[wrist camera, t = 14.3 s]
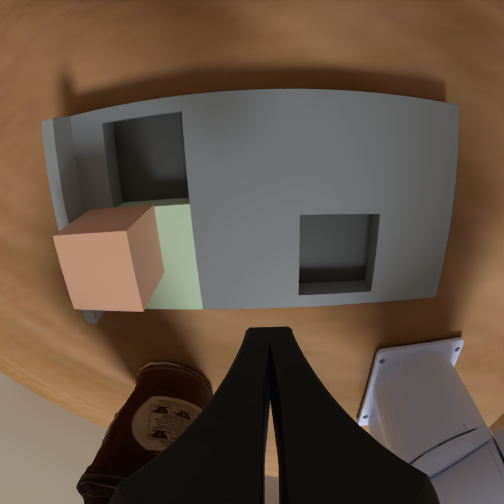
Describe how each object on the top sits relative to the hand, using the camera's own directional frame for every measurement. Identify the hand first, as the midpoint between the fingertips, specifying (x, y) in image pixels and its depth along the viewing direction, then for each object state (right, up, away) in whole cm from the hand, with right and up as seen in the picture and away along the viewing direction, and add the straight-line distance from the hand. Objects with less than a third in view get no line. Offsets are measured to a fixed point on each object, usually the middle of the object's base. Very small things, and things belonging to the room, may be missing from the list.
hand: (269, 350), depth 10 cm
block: (-8, +4, +7) cm, 11 cm away
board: (0, +6, +8) cm, 10 cm away
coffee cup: (-7, -7, +14) cm, 17 cm away
